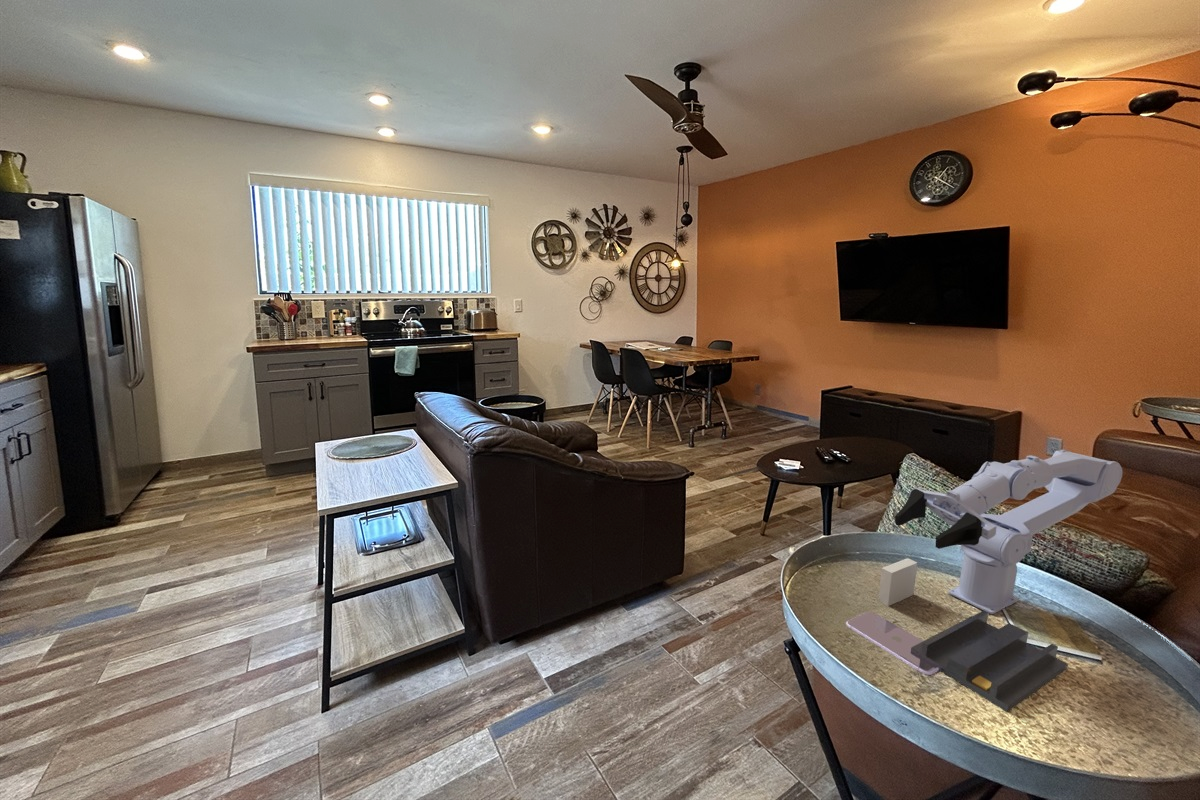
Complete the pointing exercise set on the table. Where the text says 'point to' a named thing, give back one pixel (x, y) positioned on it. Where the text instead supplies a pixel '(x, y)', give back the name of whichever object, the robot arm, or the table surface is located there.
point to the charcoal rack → (992, 660)
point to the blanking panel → (897, 581)
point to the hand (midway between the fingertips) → (916, 531)
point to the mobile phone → (891, 640)
